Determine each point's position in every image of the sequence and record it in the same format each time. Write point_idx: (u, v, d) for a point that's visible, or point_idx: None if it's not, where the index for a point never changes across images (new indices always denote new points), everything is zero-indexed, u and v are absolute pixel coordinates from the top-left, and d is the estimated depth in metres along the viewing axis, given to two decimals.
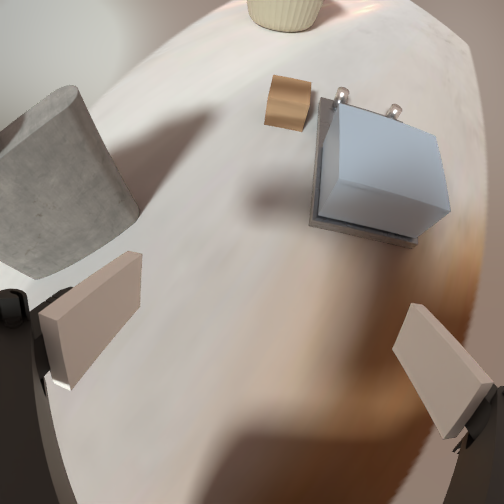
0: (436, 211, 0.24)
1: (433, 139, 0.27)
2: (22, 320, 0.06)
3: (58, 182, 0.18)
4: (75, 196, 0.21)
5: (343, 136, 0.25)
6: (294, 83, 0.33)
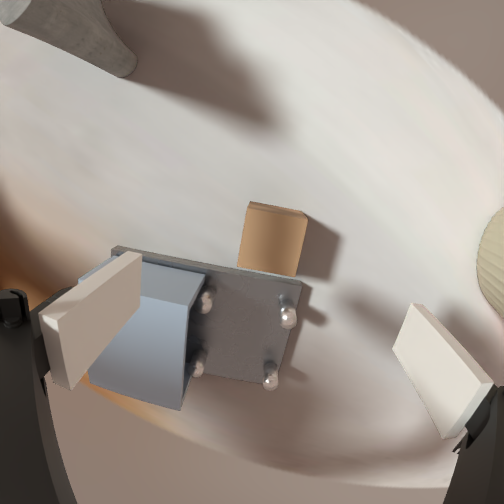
0: None
1: (172, 406, 0.25)
2: (22, 320, 0.06)
3: None
4: None
5: None
6: (287, 250, 0.25)
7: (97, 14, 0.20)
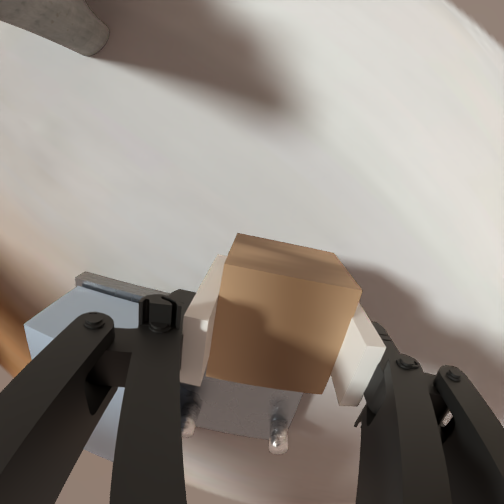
0: None
1: None
2: (170, 327, 0.08)
3: None
4: None
5: None
6: (312, 352, 0.11)
7: None
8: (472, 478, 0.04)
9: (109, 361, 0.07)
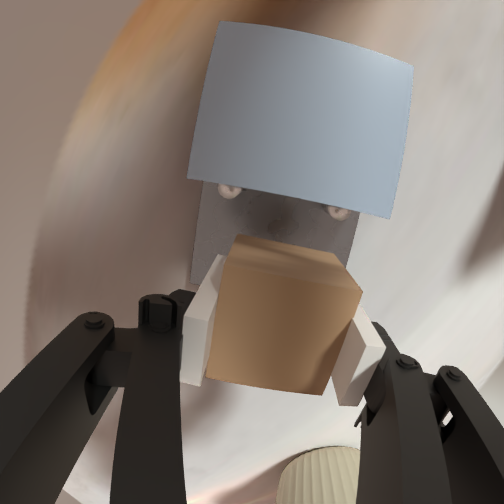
0: None
1: (196, 166, 0.16)
2: (170, 327, 0.08)
3: None
4: None
5: (400, 137, 0.15)
6: (312, 353, 0.11)
7: None
8: (472, 478, 0.04)
9: (109, 362, 0.07)
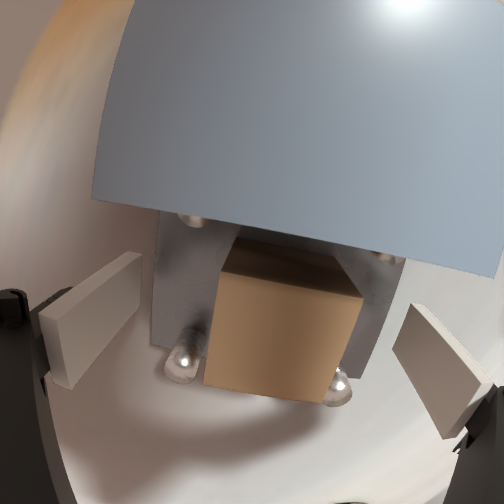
0: None
1: (108, 171, 0.07)
2: (22, 320, 0.06)
3: None
4: None
5: None
6: (312, 361, 0.11)
7: None
8: None
9: None
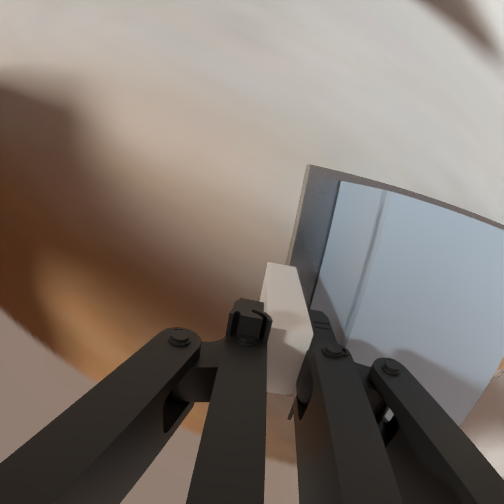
0: None
1: None
2: (258, 340, 0.08)
3: None
4: None
5: (489, 234, 0.09)
6: None
7: None
8: (427, 483, 0.04)
9: (196, 378, 0.08)
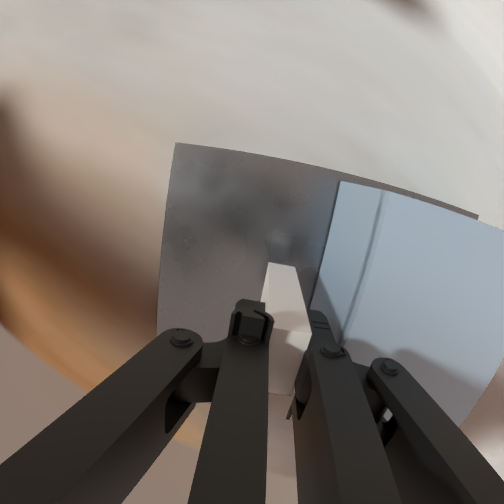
0: None
1: None
2: (259, 340, 0.08)
3: None
4: None
5: (489, 235, 0.09)
6: None
7: None
8: (425, 483, 0.04)
9: (198, 378, 0.08)
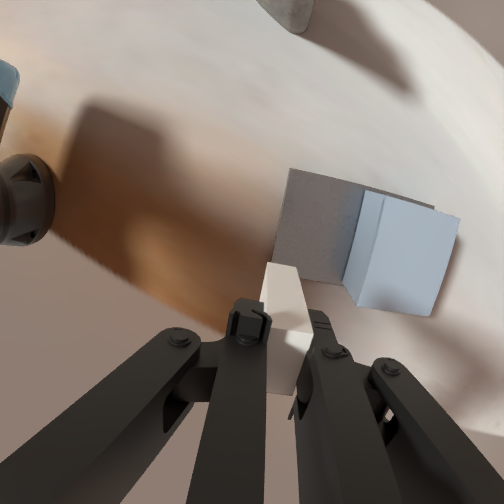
0: (358, 292, 0.31)
1: (425, 312, 0.30)
2: (257, 340, 0.08)
3: None
4: None
5: (426, 211, 0.27)
6: None
7: None
8: (427, 483, 0.04)
9: (196, 378, 0.08)
